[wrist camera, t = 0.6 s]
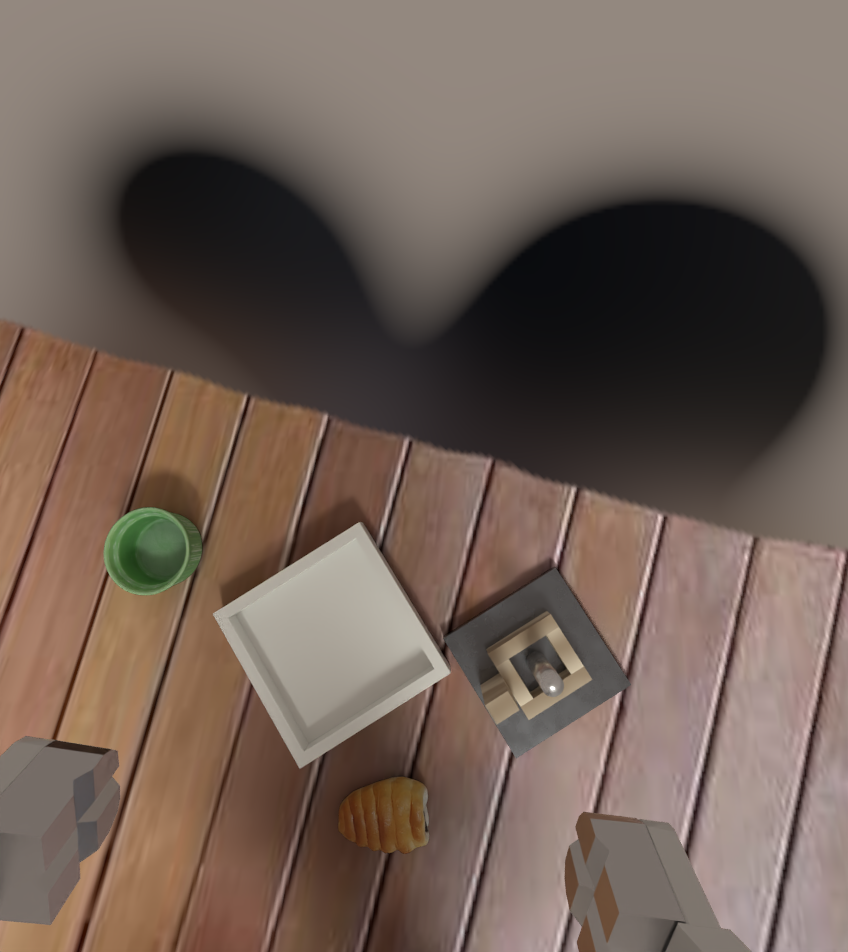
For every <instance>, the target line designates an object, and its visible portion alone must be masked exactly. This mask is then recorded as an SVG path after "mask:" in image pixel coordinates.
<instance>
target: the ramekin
mask: <svg viewBox="0 0 848 952" xmlns="http://www.w3.org/2000/svg"><path fill="white" fill-rule="evenodd" d="M201 555H202V540H201V536H200V533H199V531H198V529H197V528H196V526H195V525H194V524H193V523H192V522H191V521H190V520H188V519H187V518H185V517H184V516H182V515H179V514H175V513H171V512H168V511H166V510H163V509H160V508H154V507H145V508H139V509H136V510H133V511H131V512H129V513H127V514H126V515H124V516H123V517H121V518H120V519H119V520H118V521H117V522H116V523H115V524H114V525H113V527H112V528H111V530H110V532H109V533H108V536H107V538H106V541H105V546H104V562H105V566H106V569H107V571H108V573H109V575H110V577H111V578H112V579H113V581H114V582H115V583H116V584H117V585H118V586H119V587H121V588H122V589H124V590H125V591H128V592H130V593H133V594H137V595H153V594H157V593H160V592H162V591H165V590H167V589H168V588H170V587H171V586H173V585H175V584H178V583H180V582H182V581H184V580H185V579H186V578H188V577H189V576H190V575H191V574H192V573H193V572H194V571H195V569H196V568H197V566H198V564H199V562H200V559H201Z"/></svg>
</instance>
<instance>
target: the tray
mask: <svg viewBox="0 0 848 952" xmlns="http://www.w3.org/2000/svg"><path fill="white" fill-rule="evenodd" d="M213 615H214V617H215V619H216V621H217V622H218V624H219V626H220V628H221V629H222V631H223V633H224V635H225V637H226V638H227V640H228V642H229V644H230V646H231V647H232V649H233V651H234V653H235V654H236V656H237V658H238V660H239V662H240V663H241V665H242V667H243V669H244V670H245V672H246V674H247V676H248V678H249V679H250V681H251V683H252V685H253V687H254V688H255V690H256V692H257V694H258V695H259V697H260V699H261V701H262V703H263V704H264V706H265V708H266V710H267V711H268V713H269V715H270V717H271V719H272V720H273V722H274V724H275V726H276V728H277V729H278V731H279V733H280V735H281V736H282V738H283V740H284V742H285V744H286V745H287V747H288V749H289V751H290V753H291V754H292V756H293V758H294V760H295V761H296V763H297V765H298V767H299V769H300V768H302V767H304V766H305V765H307V764H308V763H310V762H311V761H313V760H315V759H316V758H318V757H319V756H321V755H322V754H324V753H326V752H327V751H329V750H330V749H332V748H334V747H335V746H337V745H338V744H340V743H341V742H343V741H345V740H346V739H348V738H349V737H351V736H352V735H354V734H356V733H357V732H359V731H360V730H362V729H363V728H365V727H367V726H368V725H370V724H371V723H373V722H374V721H376V720H378V719H379V718H381V717H382V716H384V715H385V714H387V713H389V712H390V711H392V710H393V709H395V708H396V707H398V706H400V705H401V704H403V703H404V702H406V701H408V700H409V699H411V698H412V697H414V696H415V695H417V694H419V693H420V692H422V691H423V690H425V689H426V688H428V687H430V686H431V685H433V684H434V683H436V682H437V681H439V680H441V679H442V678H444V677H445V676H447V675H448V674H450V673H451V668H450V665H449V663H448V661H447V660H446V658H445V657H444V655H443V653H442V652H441V650H440V648H439V647H438V645H437V643H436V642H435V640H434V638H433V637H432V635H431V633H430V632H429V630H428V629H427V627H426V625H425V624H424V622H423V620H422V619H421V617H420V615H419V614H418V612H417V610H416V609H415V607H414V606H413V604H412V602H411V601H410V599H409V597H408V596H407V594H406V592H405V591H404V589H403V587H402V586H401V584H400V582H399V581H398V579H397V578H396V576H395V574H394V573H393V571H392V569H391V568H390V566H389V564H388V563H387V561H386V559H385V558H384V556H383V554H382V553H381V551H380V550H379V548H378V546H377V545H376V543H375V541H374V540H373V538H372V536H371V535H370V533H369V531H368V530H367V528H366V526H365V525H364V523H363V522H359V523H357V524H355V525H354V526H352V527H351V528H349V529H348V530H346V531H344V532H343V533H341V534H340V535H338V536H336V537H335V538H333V539H332V540H330V541H328V542H327V543H325V544H324V545H322V546H320V547H319V548H317V549H316V550H314V551H312V552H311V553H309V554H308V555H306V556H304V557H303V558H301V559H300V560H298V561H296V562H295V563H293V564H292V565H290V566H288V567H287V568H285V569H284V570H282V571H280V572H279V573H277V574H276V575H274V576H272V577H271V578H269V579H268V580H266V581H264V582H263V583H261V584H260V585H258V586H256V587H255V588H253V589H252V590H250V591H248V592H247V593H245V594H244V595H242V596H240V597H239V598H237V599H236V600H234V601H232V602H231V603H229V604H228V605H226V606H224V607H223V608H221V609H220V610H218V611H216V612H215V613H213Z"/></svg>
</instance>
